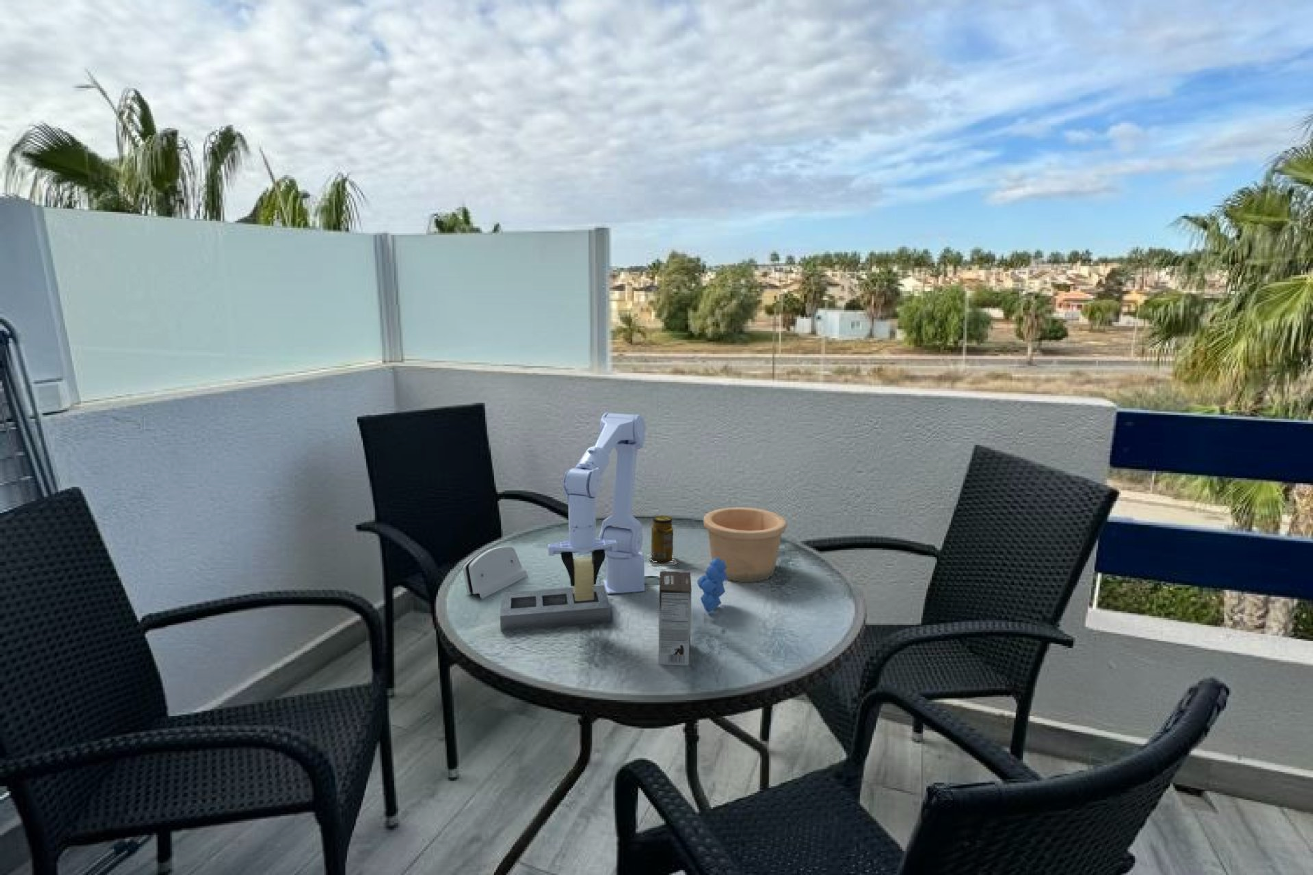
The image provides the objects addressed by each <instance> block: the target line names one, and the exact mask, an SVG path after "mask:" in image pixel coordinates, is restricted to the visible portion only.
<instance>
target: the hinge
mask: <svg viewBox="0 0 1313 875" xmlns="http://www.w3.org/2000/svg"><path fill="white" fill-rule="evenodd" d="M462 571H463V572H462V573H463V579H464V583H465V584H464V585H465V589H466V593H467V594H466V595H468V596H470V595H472V594H473V595H477V594H479V597H480V599H481V600H482V599H485V598H487V597H488V596H491V595H492V594H495V593H497V592H498V591H501V590H503V589H505V588H506V587H509V586H510V585H512V584H515V583H517V582H519V581H520V580H523V579H525V578H526V577H528V573H527V570H526V568H524V567H523V566H522V564H521V561H520V558H519V557H518V554H517V552H516V549H515V548H514V547H512V546H497V547H494V548H489V549H486V550H484V551H482V552H480V553H478V554H476V555H475V556H473V557H472V558H471V559H469V560H468V561H467V562H466V563H465V564H464V565H463V567H462Z"/></svg>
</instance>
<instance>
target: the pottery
mask: <svg viewBox="0 0 1313 875" xmlns="http://www.w3.org/2000/svg"><path fill="white" fill-rule="evenodd" d="M702 522H703V526H704V528H705V529H706V530H707V532H708V541H709V550H710V557H711V558H710V559H711V561H712V560H713V559H715V558H719V559H721V560H723V561H724V562H725V565H726V567H727V568H726V569H725V570H724V571H725V573H726V575H727V579H728V581H731V580H733V581H732V582H736V581H738V582H737V583H756V582H755V581H759V580H763V581H765V580H764V579H766V580H768V579H770V578H771V577H773V576H774V574H775V572H774V570H776V565H777V561H778V560H777V559H778V554H779V550H780V549H779V548H780V543H781V538H782V534H785V532H786V529H788V528H787V526H788V522H787V521H786V519H785V517H783V516H782V515H779V514H778V513H776V512H772V511H769V510H766V509H762V508H761V509H760V508H755V507H744V506H743V507H738V506H737V507H736V506H735V507H724V508H719V509H718V508H717V509H714V510H712V511H710V512H707V513H706V514H705V515H704V517H703V521H702ZM773 573H774V574H773ZM772 575H773V576H772ZM770 576H771V577H770ZM769 577H770V578H769ZM767 578H768V579H767ZM727 579H726V580H727ZM759 582H760V581H759Z"/></svg>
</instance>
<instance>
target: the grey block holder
mask: <svg viewBox="0 0 1313 875" xmlns="http://www.w3.org/2000/svg"><path fill="white" fill-rule="evenodd" d="M499 621H500V624H499V625H500V632H505V631H506V632H507V631H518V630H531V629H542V628H553V627H565V626H576V625H588V624H601V623H609V622H611V605H610V602H609V597H608V594H607V592H606V589H605V585H604V584H601V585H600V584H599V585H594V600H584V601H575V598H574V591H573V587H562V588H561V587H560V588H549V589H536V590H521V591H510V592H509V591H507V592H501V599H500V614H499Z"/></svg>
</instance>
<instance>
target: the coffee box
mask: <svg viewBox="0 0 1313 875" xmlns="http://www.w3.org/2000/svg"><path fill="white" fill-rule="evenodd" d="M658 590H659V591H658V665H661V666H663V665H664V666H666V665H667V666H690V661H691V659H690V658H691V634H692V633H691V629H692V627H691V626H692V622H691V621H692V591H693V589H692V577H691V572H689V571H687V572H685V571H676V570H675V571H674V570H673V571H672V570H671V571H669V570H667V571H666V570H665V571H664V570H663V571H662V570H661V571H659V586H658Z"/></svg>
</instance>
